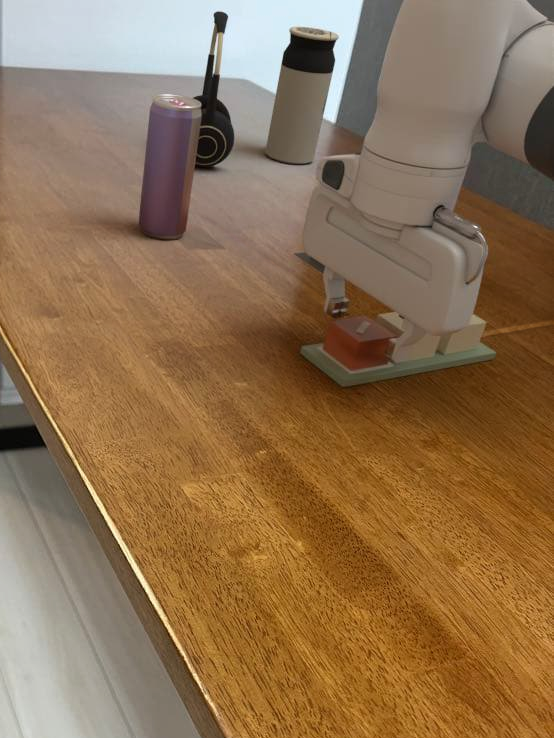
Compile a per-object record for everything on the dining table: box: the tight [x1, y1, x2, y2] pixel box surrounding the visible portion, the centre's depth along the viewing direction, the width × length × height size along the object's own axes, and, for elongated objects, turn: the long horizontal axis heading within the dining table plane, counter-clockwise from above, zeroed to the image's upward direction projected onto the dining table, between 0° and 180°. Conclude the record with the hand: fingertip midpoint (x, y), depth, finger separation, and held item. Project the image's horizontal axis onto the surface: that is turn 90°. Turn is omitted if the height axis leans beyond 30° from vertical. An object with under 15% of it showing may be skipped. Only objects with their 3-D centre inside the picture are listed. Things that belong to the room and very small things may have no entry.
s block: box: [323, 315, 396, 370], centre depth 82 cm, size 5×5×3 cm
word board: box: [299, 311, 497, 388], centre depth 85 cm, size 20×7×4 cm, turn 118°
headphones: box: [192, 10, 235, 168], centre depth 126 cm, size 9×15×20 cm, turn 0°
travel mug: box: [264, 26, 340, 165], centre depth 134 cm, size 8×8×18 cm
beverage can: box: [137, 93, 202, 241], centre depth 102 cm, size 6×6×15 cm
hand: (363, 336), depth 82 cm, fingers open, 8 cm apart
